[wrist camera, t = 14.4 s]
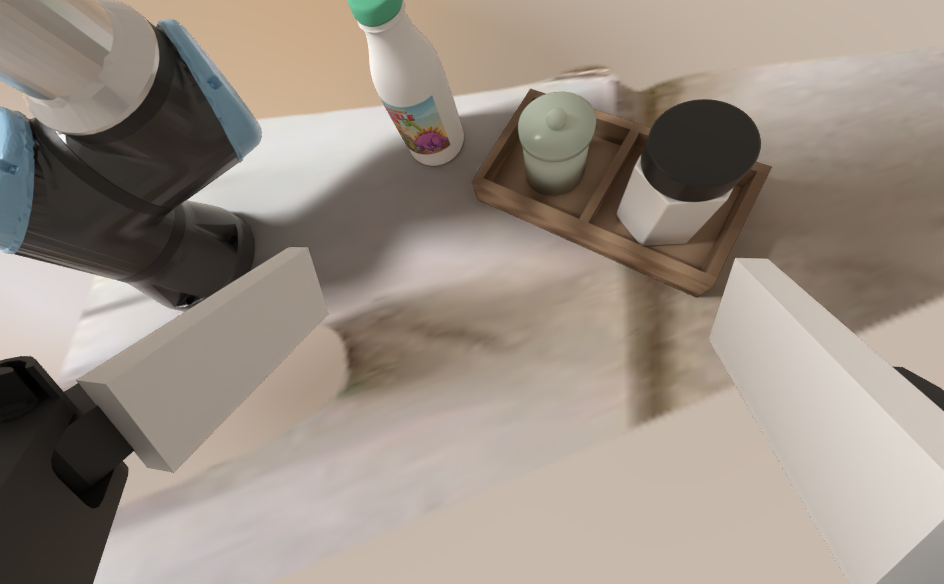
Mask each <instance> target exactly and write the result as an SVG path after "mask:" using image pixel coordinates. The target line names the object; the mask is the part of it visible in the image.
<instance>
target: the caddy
mask: <svg viewBox="0 0 944 584" xmlns="http://www.w3.org/2000/svg"><path fill="white" fill-rule="evenodd" d="M542 95H545V93H542V92H539V91H536V90H533V89H530V90H529V92H528V93H527V95H526V96H525V98H524V100H523V101H522V103H521V104H520V106H519V107H518V109H517V111H516V112H515V114H514V115H513V117H512V119H511V120H510V122H509V123H508V125H507V127H506V128H505V130H504V131H503V133H502V134H501V136H500V138H499V139H498V141H497V142H496V144H495V146H494V147H493V149H492V150H491V152H490V153H489V155H488V157H487V158H486V160H485V161H484V163H483V165H482V166H481V168H480V169H479V171H478V172H477V174H476V176H475V177H474V179H473V180H472V185H473V187H474V190H475V193H476V196H477V199H478V200H480V201H482V202H485V203H487V204H489V205H491V206H493V207H496V208H498V209H500V210H502V211H505V212H507V213H509V214H511V215H514V216H516V217H518V218H520V219H522V220H525V221H527V222H529V223H531V224H534V225H536V226H538V227H540V228H542V229H545V230H547V231H549V232H551V233H554V234H556V235H558V236H560V237H562V238H565V239H567V240H569V241H571V242H574V243H576V244H578V245H580V246H583V247H585V248H587V249H589V250H591V251H594V252H596V253H598V254H600V255H603V256H605V257H607V258H609V259H611V260H614V261H616V262H618V263H620V264H623V265H625V266H627V267H629V268H632V269H634V270H636V271H638V272H640V273H643V274H645V275H647V276H649V277H652V278H654V279H656V280H658V281H660V282H663V283H665V284H667V285H669V286H672V287H674V288H676V289H678V290H681V291H683V292H685V293H687V294H689V295H692V296H694V297H698V296H699V295H701V294H702V293H704V292H705V291H707V290H708V289H710V288H712V287H713V285H714V283H715V281H716V279H717V277H718V275H719V273H720V271H721V269H722V267H723V265H724V263H725V261H726V259H727V257H728V255H729V253H730V251H731V249H732V247H733V245H734V243H735V241H736V239H737V237H738V235H739V233H740V231H741V229H742V227H743V225H744V223H745V221H746V219H747V217H748V215H749V213H750V211H751V209H752V206H753V204H754V202H755V200H756V198H757V196H758V194H759V192H760V190H761V188H762V186H763V184H764V182H765V180H766V178H767V176H768V174H769V172H770V170H771V168H772V167H771V166H768V165H765V164H762V163H759V162H755V164H754V165H753V167H752V168H751V169H750V170H749V171H748V172H747V173H746V175H745V176H744V177H743V178H742V179H741V180H740V181H739V182H738V183H737V184H736V186H735V187H734V188H733V190H732V192H731V194H730V196H729V198H728V200H727V201H726V202H725V203H724V204H723V205H722V206H721V207H720V208H719V209H718V210H717V211H716V212H715V213H714V215H713V216H712V217H711V218H710V219H709V220H708V221H707V222H706V223H705V224H704V225H703V226H702V227H701V228H700V230H699V231H698V232H697V233H696V234H695V235H694V236H693V237H692V238H691V239H690V240H689V241H688V242H687V243H685V244H669V245H651V246H641V245H640V244H639V243H638V242H637V241H636V239H635V238H634V237H633V236H632V234H631V233H630V232H629V231H628V229H627V228H626V227H625V226H624V225H623V223H622V222H621V221H620V220H619V218H618V217H617V216H616V213H617V210H618V208H619V205H620V203H621V200H622V197H623V195H624V192H625V190H626V187H627V185H628V182H629V179H630V177H631V174H632V172H633V169H634V166H635V165H636V163H637V161H638V159H639V157H640V155H641V153H642V149H643V147H644V144H645V142H646V139H647V136H648V134H649V131H650V129H651V128H650V127H647V126H644V125H641V124H638V123H635V122H632V121H629V120H626V119H623V118H619V117H616V116H613V115H610V114H607V113H604V112H601V111H598V110H595V109H594V112H595V115H596V126H595V132H594V136H593V139H592V141H591V143H590V144H589V148H588V154H587V160H586V165H585V171H584V176H583V178H582V180H581V182H580V183H579V184H578V186H577V187H575V188H574V189H573V190H571V191H570V192H568V193H565V194H562V195H558V196H548V195H543V194H541V193H538V192H537V191H535V190H534V189H533V188H532V187H531V186H530V185H529V183H528V182H527V179H526V175H525V165H524V154H523V147H522V145H521V143H520V140H519V133H518V122H519V119H520V116H521V114H522V112H523V110H524V109H525V108H526V107H527V106H528V104H530V103H531V102H532V101H533V100H535V99H536V98H538V97H540V96H542Z"/></svg>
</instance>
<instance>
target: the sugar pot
mask: <svg viewBox="0 0 944 584" xmlns="http://www.w3.org/2000/svg"><path fill="white" fill-rule="evenodd" d="M595 126H596V115H595V112H594V109H593V108H592V106H591V105H590V103H589V102H588V101H587V100H585V99H584V98H583V97H581V96H579V95H576V94H574V93H570V92H553V93H548V94H545V95H542V96H540V97H538V98H536V99H535V100H533V101H532V102H531V103H530V104H528V106H527V107H526V108H525V109H524V110H523V112H522V114H521V116H520V119H519V122H518V133H519V140H520V143H521V145H522V147H523V154H524V165H525V175H526V179H527V182H528V183H529V185H530V186H531V187H532V188H533V189H534V190H535V191H537V192H538V193H541V194H543V195H548V196H558V195H562V194H565V193H568V192H570V191H571V190H573V189H574V188H575V187H577V186H578V184H579V183H580V182H581V180H582V178H583V176H584V171H585V165H586V160H587V154H588V148H589V144H590V143H591V141H592V139H593V136H594V132H595Z"/></svg>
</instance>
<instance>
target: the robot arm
mask: <svg viewBox="0 0 944 584" xmlns="http://www.w3.org/2000/svg"><path fill="white" fill-rule="evenodd" d="M0 81H1V82H3V83H5V84H7V85H9V86H11V87H13V88H15V89H17V90H19V91H21V93H22V96H23V98H24V100H25V103H26V104H27V106H28V108H29V110H30V111H31V112H32V114H33V115H34V117H35V118H33V119H28V118H26V116H25V115H24V114H22V113H20V112H18V111H12V110H9V109H7V108H4V107H0V250H1V251H2V252H4V253H8V254H15V255H19V256H23V257H28V258H31V259H35V260H39V261H43V262H47V263H51V264H55V265H59V266H63V267H67V268H71V269H75V270H79V271H83V272H87V273H91V274H95V275H99V276H103V277H107V278H111V279H115V280H118V281H122V282H126V283H128V284H130V285H132V286H133V287H135V288H136V289H138V290H140V291H141V292H143V293H144V294H146V295H147V296H149V297H151V298H152V299H154V300H155V301H157V302H159V303H160V304H162V305H164V306H166V307H168V308H171V309H175V310H180V311H184V313H182V314H181V315H179V316H178V317H176V318H174V319H173V320H171V321H170V322H168V323H167V324H165V325H163V326H162V327H160V328H159V329H157V330H155V331H154V332H152V333H151V334H149V335H147V336H146V337H144V338H143V339H141V340H139V341H138V342H136V343H135V344H133V345H131V346H130V347H128V348H127V349H125V350H123V351H122V352H120V353H119V354H117V355H115V356H114V357H112V358H111V359H109V360H107V361H106V362H104V363H103V364H101V365H99V366H98V367H96V368H95V369H93V370H91V371H90V372H88V373H87V374H85V375H83V376H82V377H80V378H79V379H77V380H76V381H77V382H78V384H76V385H75V386H73V387H71V388H70V389H68V390H66V391H65V392H63V391H62V390H61V388H60V387H59V386H58V385H57V384H56V383H55V381H54V380H53V379H52V378H51V377H50V376H49V374H48V373H47V372H46V371H45V370H44V369H43V368H42V366H41V365H40V364H39V363H38V362H37V360H36V359H34V358H33V357H31V356H20V357H15V358H9V359H4V360H1V361H0V584H93V582H94V579H95V576H96V573H97V570H98V566H99V563H100V560H101V557H102V554H103V551H104V548H105V545H106V542H107V539H108V536H109V533H110V529H111V526H112V523H113V520H114V517H115V514H116V511H117V508H118V505H119V502H120V499H121V496H122V492H123V489H124V486H125V483H126V480H127V477H128V467H127V465H126V464H125V463H124V462H123V460H124V459H125V458H126V457H127V456H128V455H130V454H131V453H132V452H133V451H134V452H135V453H136V454H137V455H138V457H139V458H140V459H141V460H142V462H143V463H144V464H145V465H146V467H147V468H151V469H157V470H163V471H167V472H173V473H174V472H175V471H176V470H177V469H178V468H179V467H180V466H181V465H182V464H183V463H184V462H185V461H186V460H187V459H188V458H189V457H190V456H191V454H193V452H195V451H196V450H197V448H198V447H199V446H200V445H201V444H202V443H203V442H204V441H205V440H206V439H207V438H208V437H209V436H210V435H211V434H212V433H213V432H214V431H215V430H216V429H217V428H218V427H219V426H220V425H221V424H222V423H223V422H224V421H225V420H226V419H227V418H228V417H229V416H230V415H231V414H232V413H233V411H235V410H236V408H237V407H238V406H239V405H240V404H241V403H242V402H243V401H244V400H245V399H246V398H247V397H248V396H249V395H250V394H251V393H252V392H253V391H254V390H255V389H256V388H257V387H258V386H259V385H260V384H261V383H262V382H263V381H264V380H265V379H266V378H267V377H268V376H269V375H270V374H271V373H272V372H273V370H275V369H276V368H277V366H278V365H279V364H280V363H281V362H282V361H283V360H284V359H285V358H286V357H287V356H288V355H289V354H290V353H291V352H292V351H293V350H294V349H295V348H296V347H297V346H298V345H299V344H300V343H301V342H302V341H303V340H304V339H305V338H306V337H307V336H308V335H309V334H310V333H311V331H313V330H314V329H315V328H316V326H317V325H318V324H319V323H320V322H321V321H322V320H323V319H324V318H325V317H326V316H327V315H328V314H329V313H328V310H327V307H326V303H325V300H324V297H323V294H322V291H321V287H320V284H319V281H318V278H317V275H316V271H315V268H314V265H313V262H312V258H311V255H310V252H309V249H308V247H288V248H286V249H285V250H283V251H282V252H280V253H278V254H277V255H275V256H274V257H272V258H270V259H269V260H267V261H266V262H264V263H262V264H261V265H259V266H258V267H256V268H254V269H253V270H251V271H250V272H249V270H250V267H251V264H252V261H253V255H254V241H253V236H252V233H251V231H250V229H249V227H248V225H247V224H246V223H245V222H244V221H243V220H242V219H241V218H239V217H238V216H236V215H234V214H232V213H231V212H229V211H227V210H225V209H223V208H220V207H216V206H211V205H207V204H202V203H197V202H192V201H187V199H189V198H190V197H191V196H193V195H194V194H196V193H197V192H198V191H200V190H201V189H203V188H204V187H205V186H207V185H208V184H210V183H211V182H212V181H214V180H215V179H217V178H218V177H219V176H221V175H222V174H223V173H225V172H226V171H228V170H229V169H230V168H232V167H233V166H235V165H236V164H237V163H240V162H241V161H243V158H244V157H245V156H246V155H247V154H248V153H249V152H250V151H252V150H253V149H254V148H255V147H256V146H257V145H258V144H259V143H260V140H261V137H262V131H261V127H260V125H259V123H258V122H257V120H256V119H255V117H254V116H253V114H252V113H251V111H250V110H249V108H248V107H247V106H246V104H245V103H244V102H243V100H242V99H241V98H240V96H239V95H238V94H237V92H236V91H235V90H234V88H233V87H232V86H231V84H230V83H229V82H228V80H227V79H226V78H225V76H224V75H223V74H222V73H221V71H220V70H219V69H218V68H217V66H216V65H215V64H214V63H213V62H212V60H211V59H210V58H209V56H208V55H207V54H206V53H205V51H204V50H203V49H202V48H201V46H200V45H199V44H198V43H197V42H196V40H195V39H194V38H193V37H192V36H191V35H190V33H189V32H188V31H187V30H186V29H185V28H184V27H183V26H181V25H180V23H179V22H177V21H176V20H174V19H168V20H166V21H159V22H158V24H157V26H156V27H155V26H154V25H152V24H151V23H150V22H149V21H148V20H147V19H146V18H144V17H143V16H142V15H141V14H139V12H137V11H136V10H135V9H133V8H132V7H131V6H129V5H126V4H124V3H122V2H118V1H115V0H0ZM709 341H710V342H711V344H712V346H713V348H714V349H715V351H716V353H717V355H718V356H719V358H720V360H721V362H722V363H723V365H724V367H725V369H726V370H727V372H728V374H729V376H730V377H731V379H732V381H733V383H734V384H735V386H736V388H737V390H738V391H739V393H740V395H741V396H742V398H743V400H744V402H745V403H746V405H747V407H748V409H749V410H750V412H751V414H752V416H753V417H754V419H755V421H756V423H757V424H758V426H759V428H760V430H761V431H762V433H763V435H764V437H765V438H766V440H767V442H768V444H769V445H770V447H771V449H772V451H773V452H774V454H775V456H776V458H777V459H778V461H779V463H780V464H781V466H782V468H783V470H784V471H785V473H786V475H787V477H788V478H789V480H790V482H791V484H792V485H793V487H794V489H795V491H796V492H797V494H798V496H799V498H800V499H801V501H802V503H803V504H804V506H805V508H806V510H807V512H808V513H809V515H810V517H811V519H812V520H813V522H814V524H815V526H816V527H817V529H818V531H819V533H820V534H821V536H822V538H823V540H824V541H825V543H826V545H827V547H828V548H829V550H830V552H831V553H832V555H833V557H834V559H835V561H836V562H837V564H838V566H839V568H840V569H841V571H842V573H843V575H844V576H845V578H846V579H847V581H848V583H849V584H944V390H942V389H941V388H940V387H938V386H936V385H934V384H932V383H930V382H929V381H927V380H925V379H923V378H921V377H920V376H918V375H916V374H914V373H912V372H911V371H909V370H907V369H905V368H903V367H892V366H891V365H890V364H888V363H887V362H886V361H885V360H884V359H883V358H881V357H880V356H879V355H878V354H877V353H876V352H874V351H873V350H872V349H871V348H870V347H869V346H868V345H867V344H865V343H864V342H863V341H862V340H861V339H860V338H858V337H857V336H856V335H855V334H854V333H853V332H852V331H850V330H849V329H848V328H847V327H846V326H845V325H843V324H842V323H841V322H840V321H839V320H838V319H837V318H835V317H834V316H833V315H832V314H831V313H830V312H828V311H827V310H826V309H825V308H824V307H823V306H822V305H820V304H819V303H818V302H817V301H816V300H815V299H813V298H812V297H811V296H810V295H809V294H808V293H807V292H805V291H804V290H803V289H802V288H801V287H800V286H798V285H797V284H796V283H795V282H794V281H793V280H792V279H790V278H789V277H788V276H787V275H786V274H785V273H783V272H782V271H781V270H780V269H779V268H778V267H777V266H775V265H774V264H773V263H772V262H771V261H770V260H768V259H759V258H735V260H734V263H733V266H732V269H731V272H730V276H729V279H728V282H727V285H726V288H725V291H724V294H723V297H722V300H721V303H720V306H719V309H718V312H717V315H716V318H715V321H714V324H713V328H712V331H711V334H710V337H709Z"/></svg>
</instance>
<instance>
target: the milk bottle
mask: <svg viewBox="0 0 944 584" xmlns="http://www.w3.org/2000/svg"><path fill="white" fill-rule="evenodd" d="M348 4H349V7H350V9H351V11H352V13H353V15H354V17H355V18H356V20H357V22H358V25H359V26H360V28H362V30H364V31H365V33H366V36H367V41H368V47H369V62H370V71H371V76H372V79H373V83H374V85H375V88H376V90H377V92H378V94H379V96H380V98H381V100H382V102H383V104H384V106H385V108H386V110H387V111H388V113H389V115H390V117H391V119H392V121H393V122H394V124H395V126H396V128H397V130H398V131H399V133H400V135H401V137H402V139H403V140H404V142H405V144H406V146H407V147H408V149H409V151H410V152H411V154H412V156H413V157H414V158H415V159H416V160H417V161H418V162H420V163H422V164H425V165H428V166H438V165H442V164H445V163H447V162H449V161H450V160H452V159H453V158H454V157H455V156H456V155H457V154H458V153H459V151H460V150H461V148H462V145H463V141H464V132H463V128H462V124H461V121H460V118H459V115H458V112H457V108H456V105H455V102H454V99H453V96H452V93H451V90H450V87H449V83H448V80H447V77H446V74H445V71H444V69H443V66H442V63H441V61H440V58H439V56H438V54H437V52H436V50H435V48H434V47H433V45H432V44H431V42H430V41H429V40H428V38H427V37H426V36H425V35H424V34H423V33H422V32H421V31H420V30H419V29H418V28H417V27H416V26H415V25H414V24H413V23H412V21H411V20H410V18H409V17H408V15H407V14H406V12H405V2H404V0H348Z"/></svg>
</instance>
